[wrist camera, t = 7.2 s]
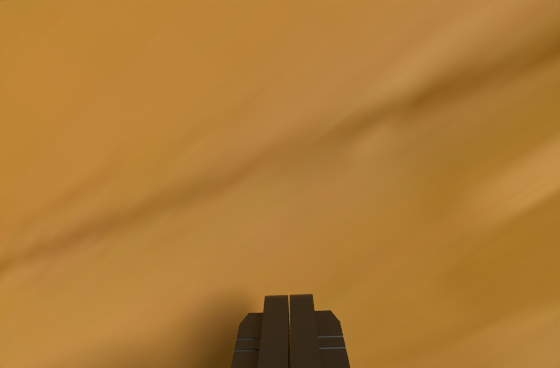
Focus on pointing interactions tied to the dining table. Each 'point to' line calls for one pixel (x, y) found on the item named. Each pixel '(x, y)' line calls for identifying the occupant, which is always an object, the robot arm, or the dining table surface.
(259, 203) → the dining table surface
